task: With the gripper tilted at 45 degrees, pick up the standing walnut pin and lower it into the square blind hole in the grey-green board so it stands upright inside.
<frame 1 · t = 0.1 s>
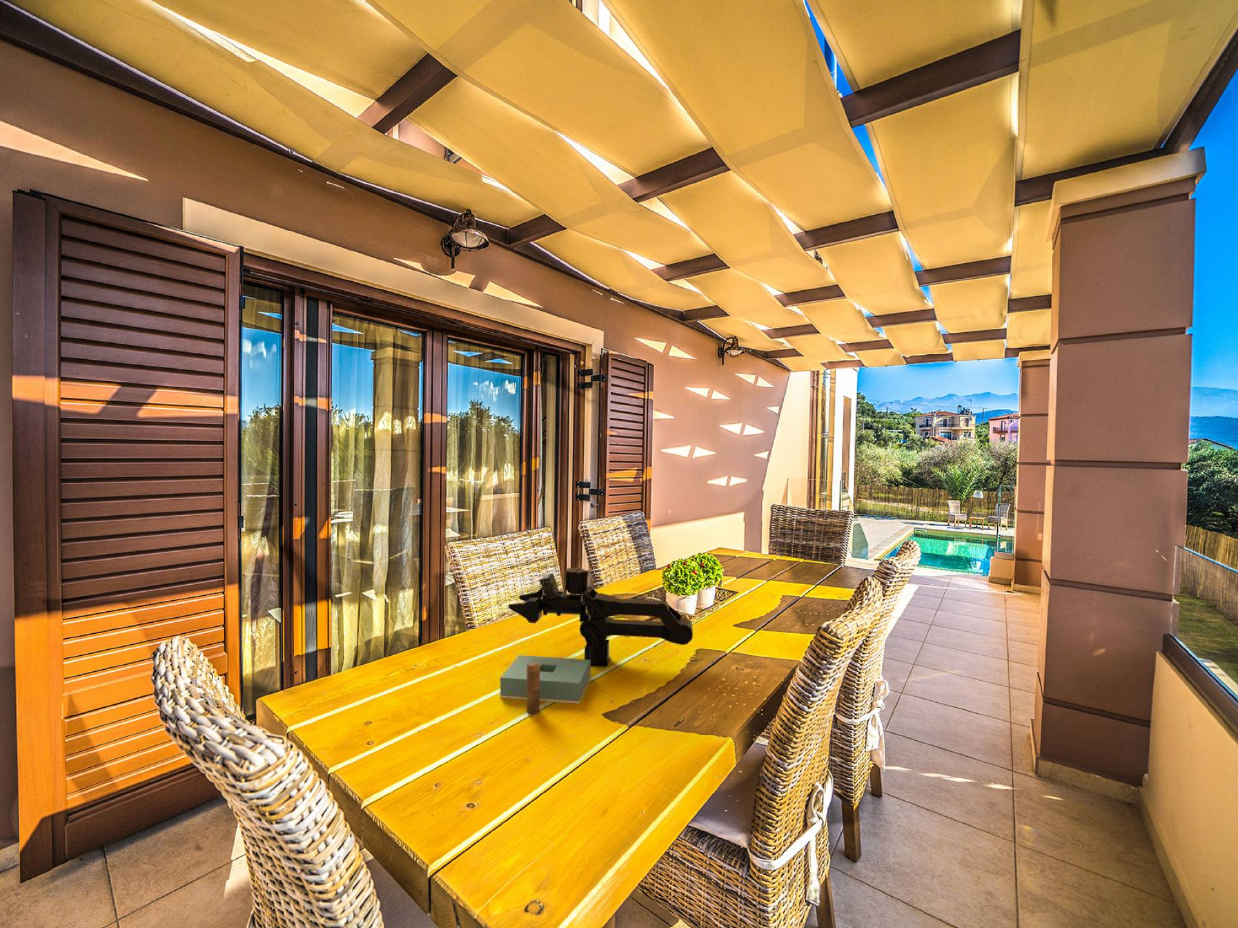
hand: (514, 601, 150), 16 cm above the table, tool horizontal, fingers open, 9 cm apart
pin: (533, 710, 119), on the table
board: (547, 687, 131), on the table
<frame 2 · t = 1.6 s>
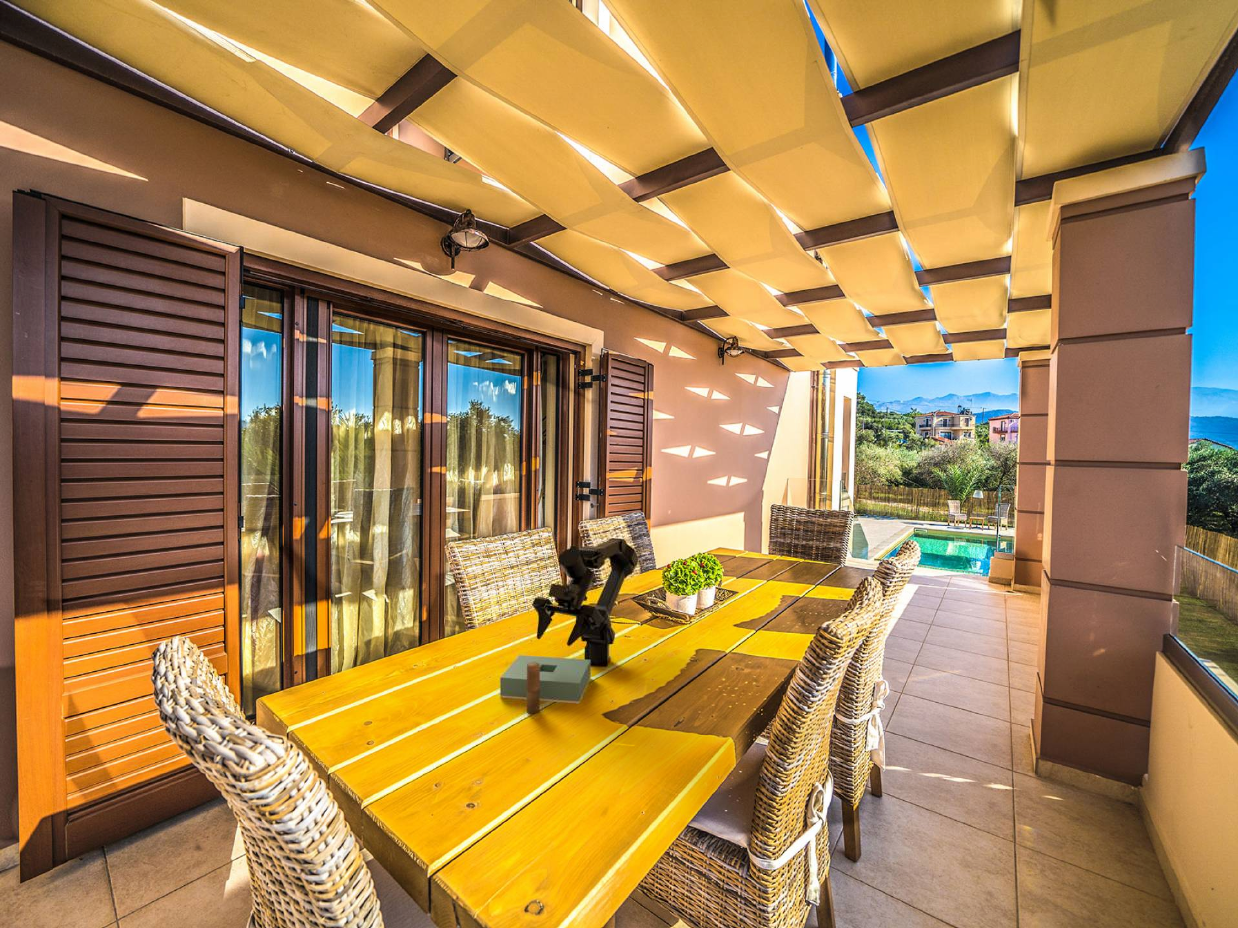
hand: (552, 641, 126), 14 cm above the table, tool tilted 45°, fingers open, 9 cm apart
nothing on the table moved.
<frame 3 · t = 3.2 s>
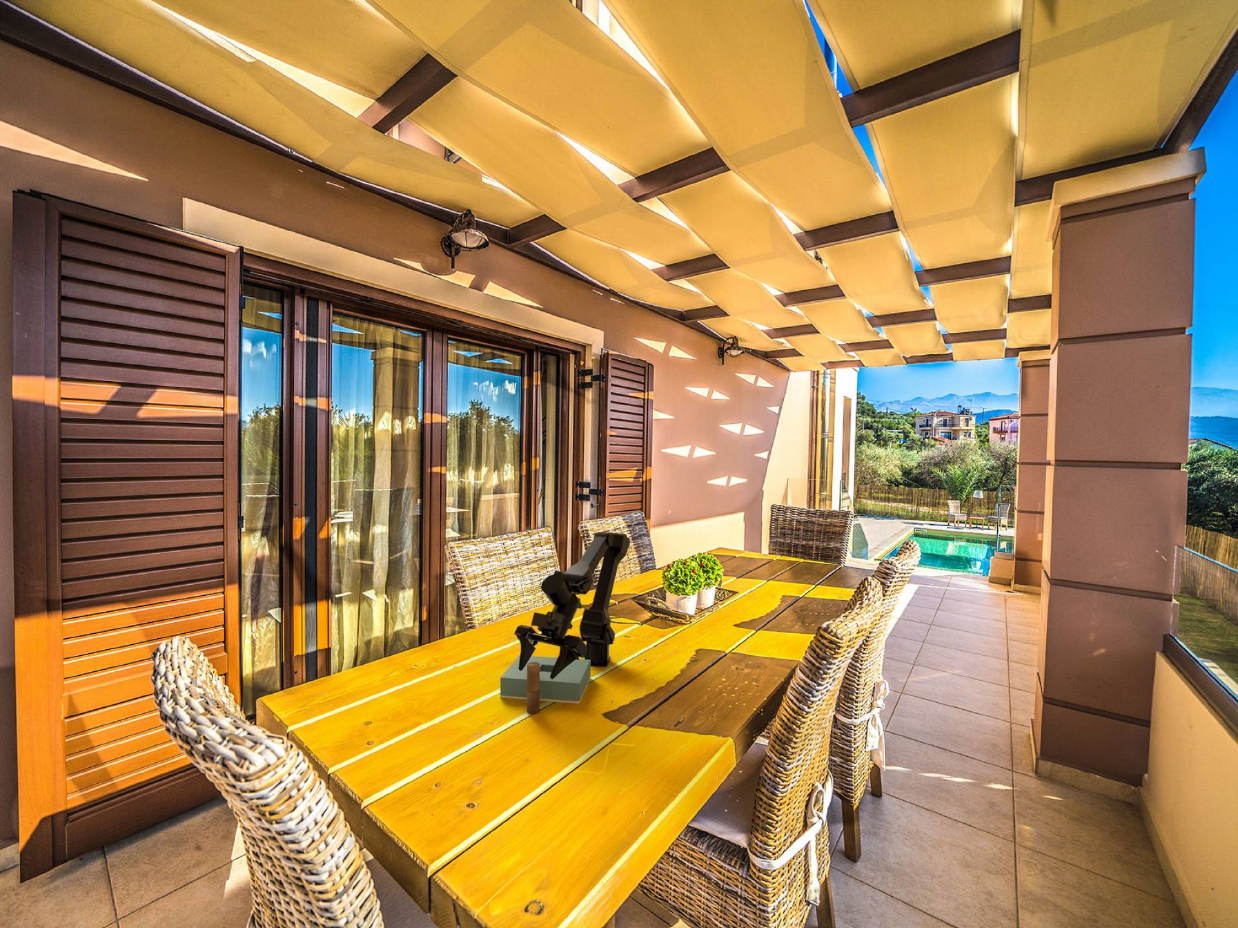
hand: (535, 674, 119), 8 cm above the table, tool tilted 45°, fingers open, 9 cm apart
nothing on the table moved.
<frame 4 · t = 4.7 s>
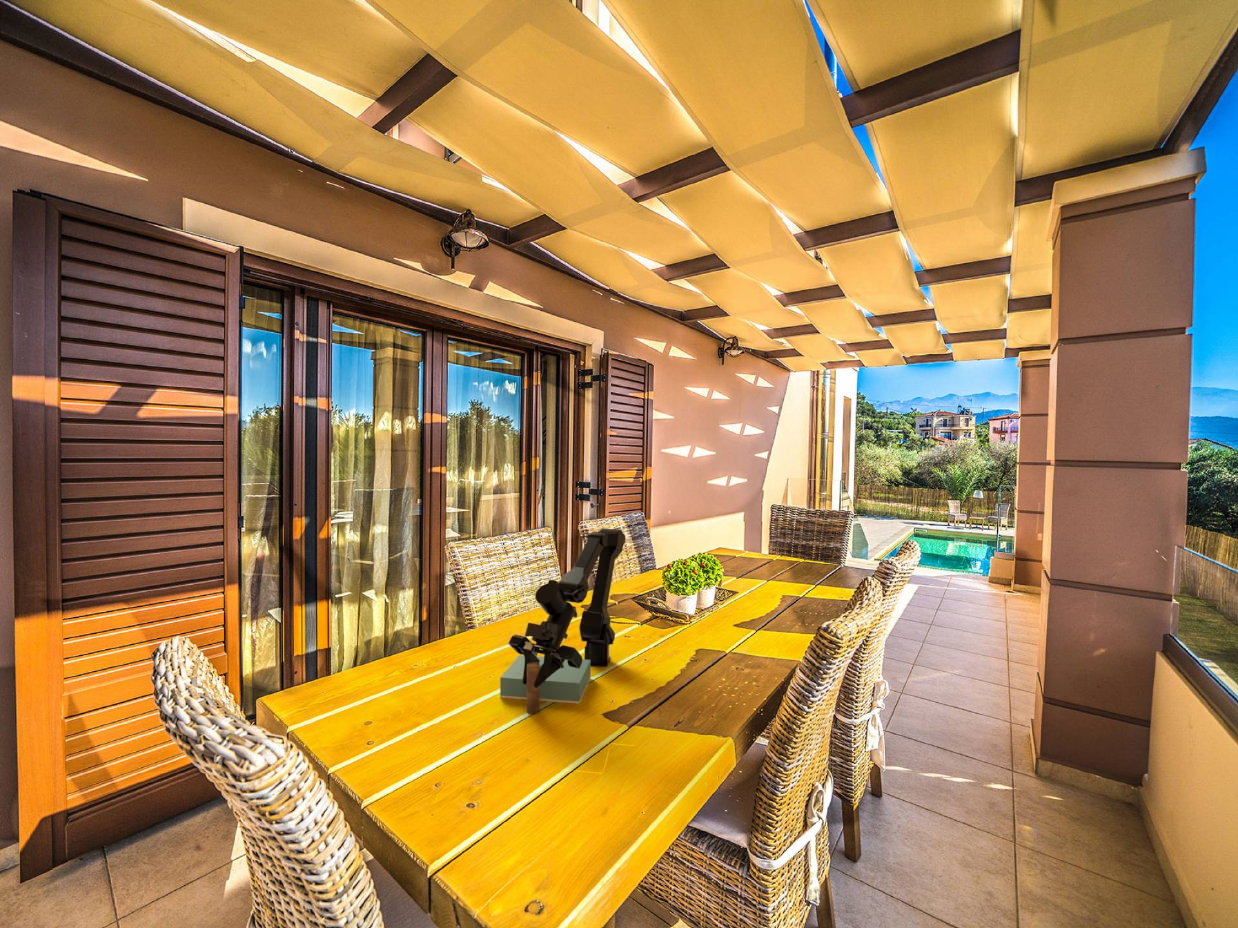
hand: (529, 685, 118), 7 cm above the table, tool tilted 45°, fingers closed on pin, 3 cm apart
pin: (533, 710, 119), on the table, touching gripper
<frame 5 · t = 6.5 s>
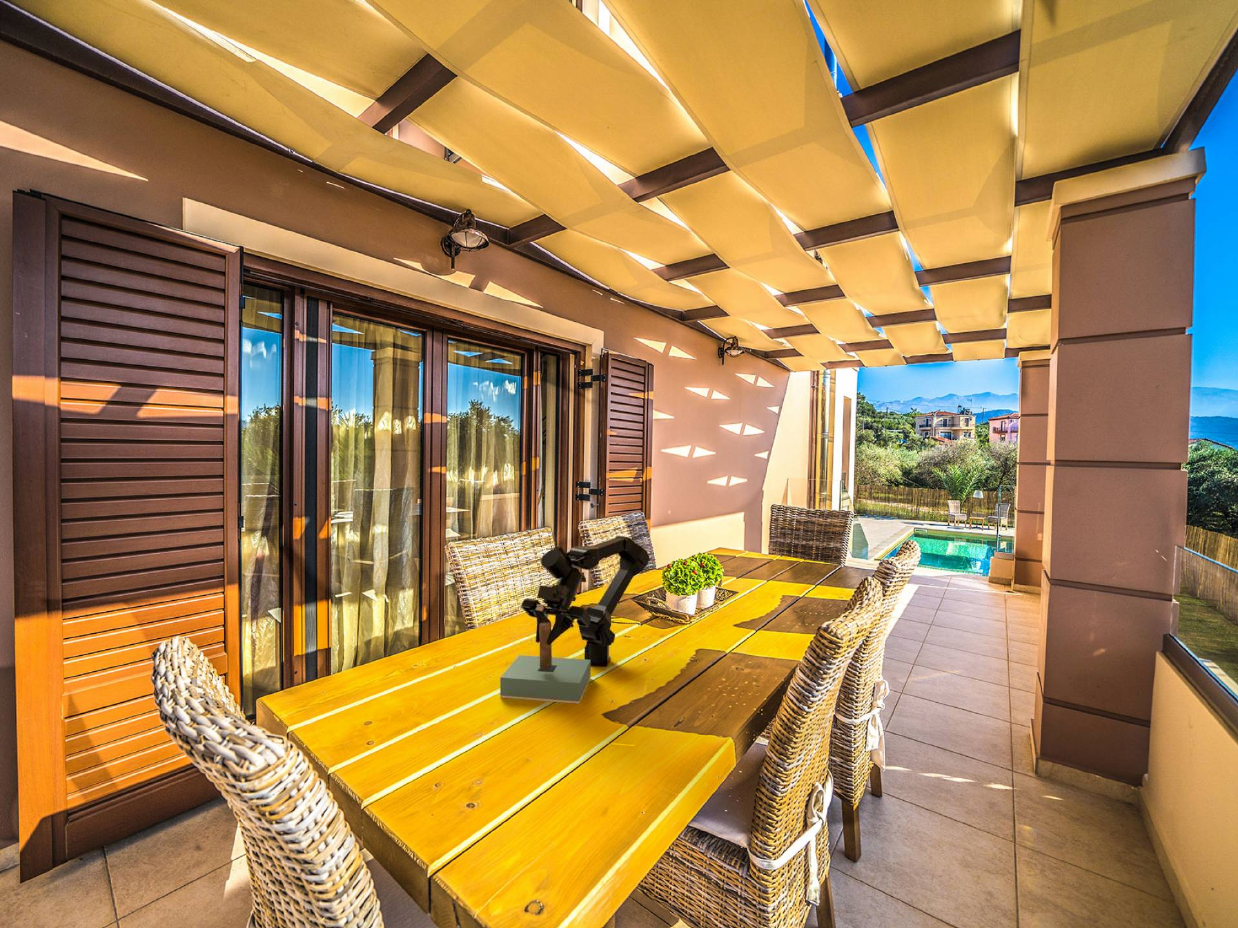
hand: (542, 643, 126), 13 cm above the table, tool tilted 45°, fingers closed on pin, 3 cm apart
pin: (545, 666, 128), point 7 cm above the table, touching gripper
when the fingers open (8 cm above the table, at t = 8.4 s): pin stays where it is, resting on board.
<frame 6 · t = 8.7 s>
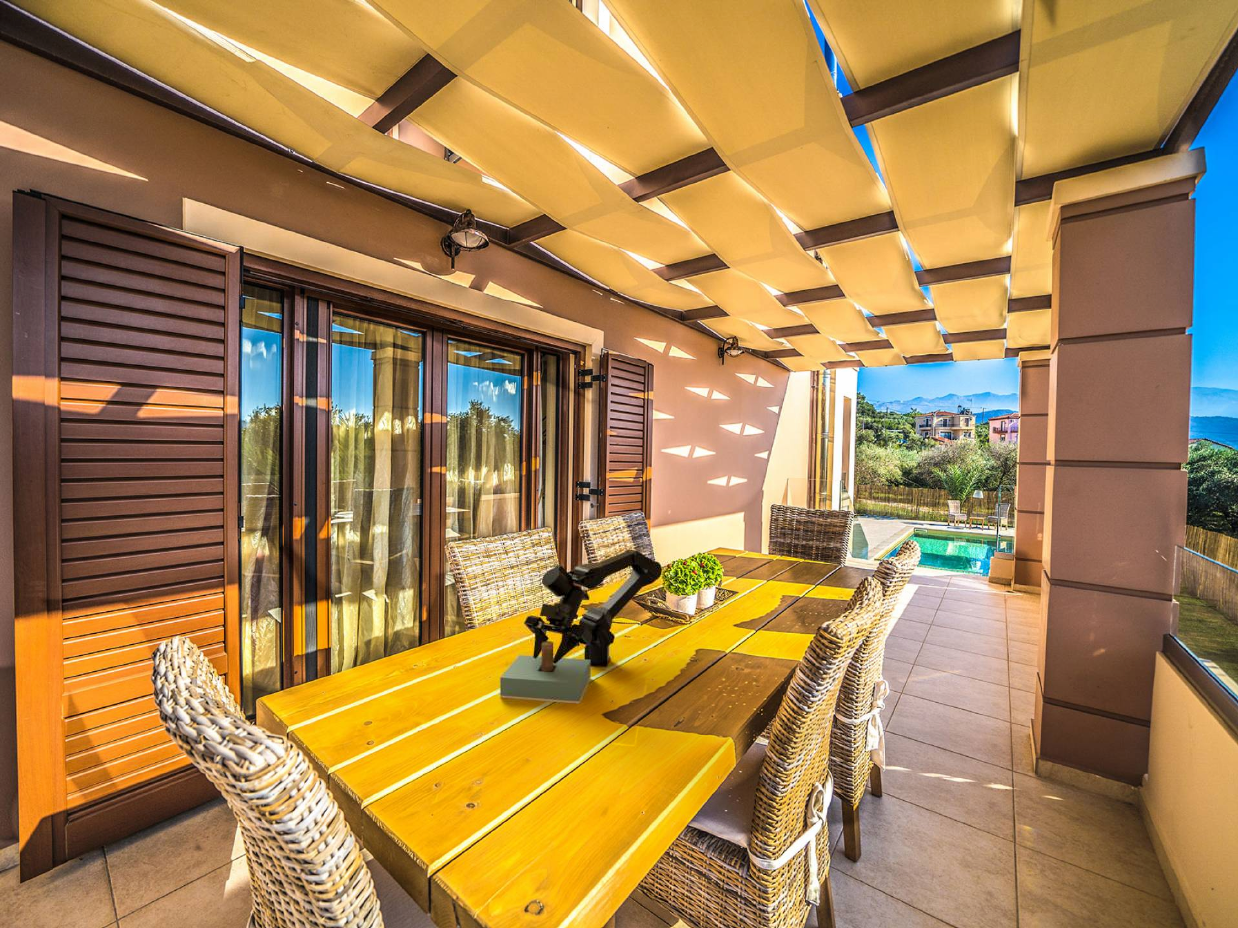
hand: (544, 660, 129), 8 cm above the table, tool tilted 45°, fingers open, 6 cm apart
pin: (547, 685, 131), point 1 cm above the table, touching board
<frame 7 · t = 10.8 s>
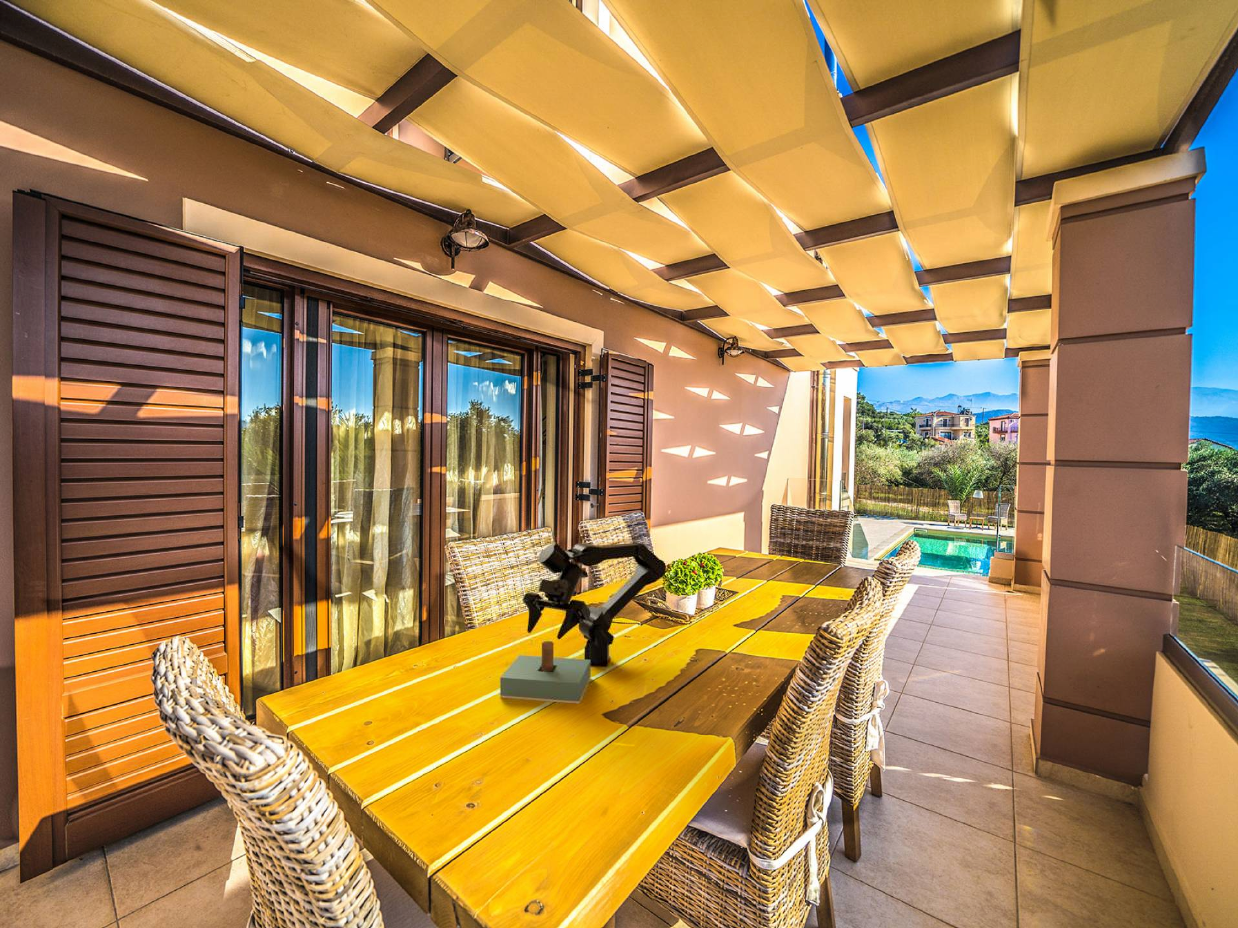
hand: (543, 635, 130), 14 cm above the table, tool tilted 45°, fingers open, 9 cm apart
nothing on the table moved.
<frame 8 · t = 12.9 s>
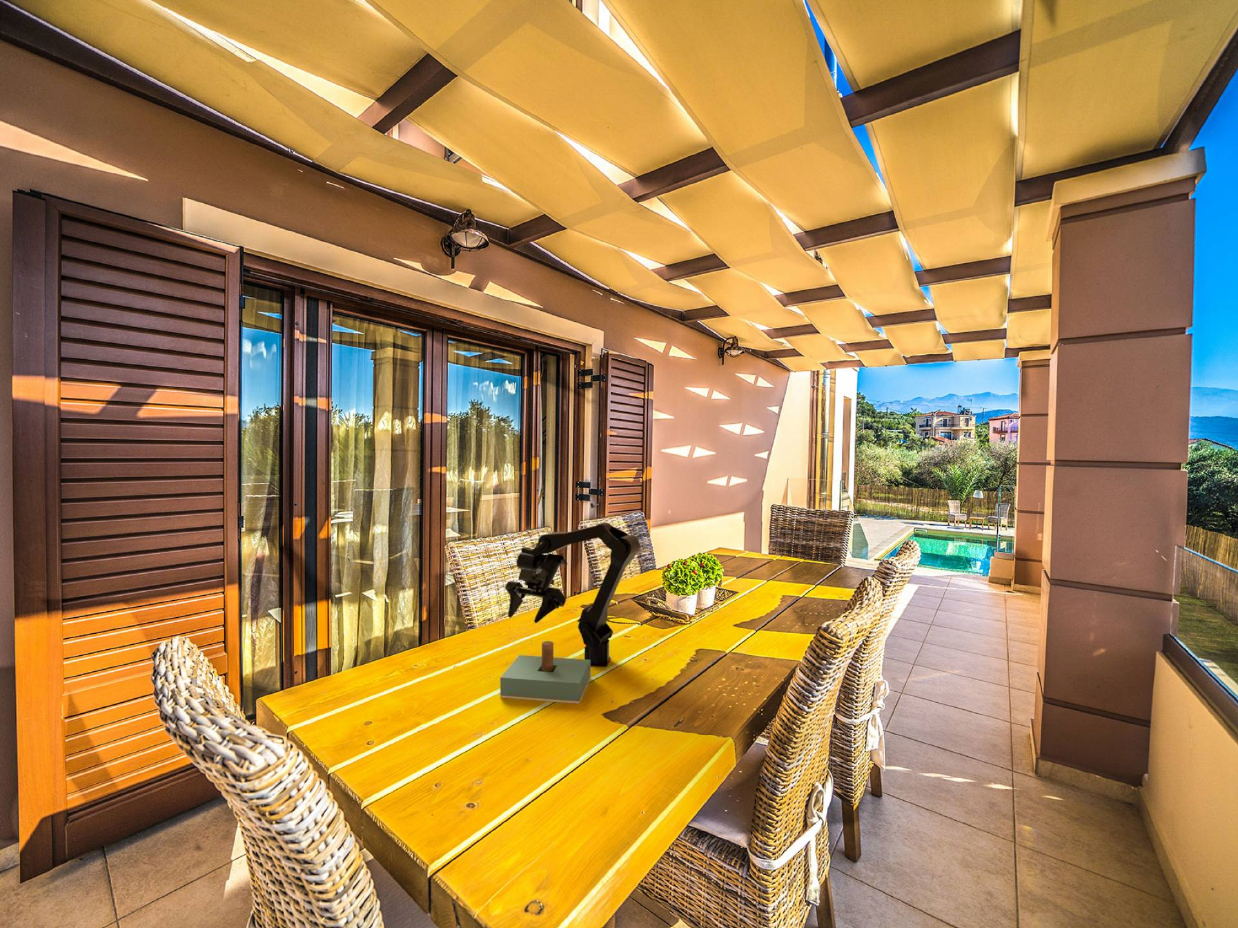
hand: (522, 619, 143), 14 cm above the table, tool tilted 45°, fingers open, 9 cm apart
nothing on the table moved.
at the end: pin 0.0 cm from the board (horizontally); pin point 0.5 cm above the table; pin tilted 0° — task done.
